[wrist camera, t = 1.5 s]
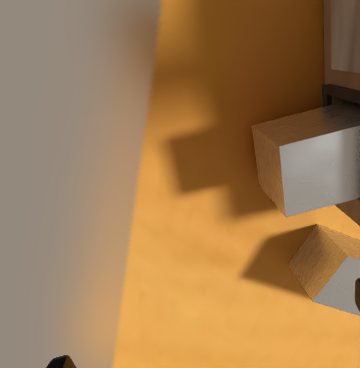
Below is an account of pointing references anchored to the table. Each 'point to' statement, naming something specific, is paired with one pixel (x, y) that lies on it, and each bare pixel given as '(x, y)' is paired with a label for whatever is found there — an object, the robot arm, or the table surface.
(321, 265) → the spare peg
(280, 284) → the table surface
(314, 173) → the peg
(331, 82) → the socket block
